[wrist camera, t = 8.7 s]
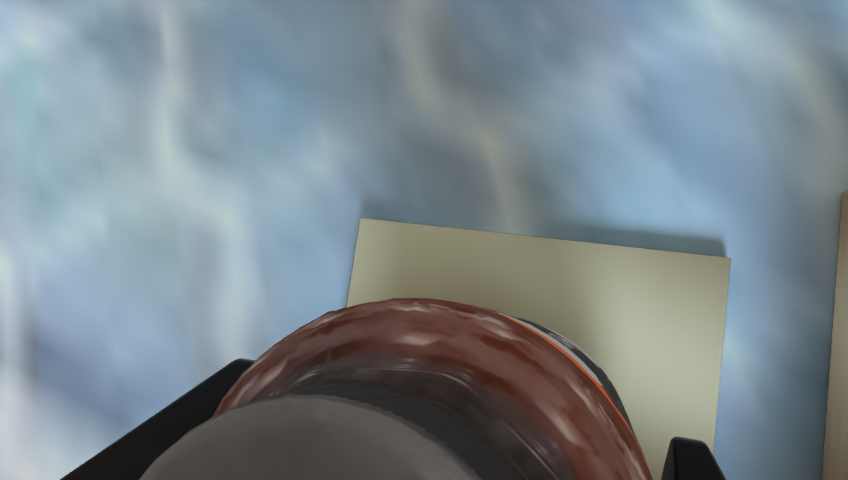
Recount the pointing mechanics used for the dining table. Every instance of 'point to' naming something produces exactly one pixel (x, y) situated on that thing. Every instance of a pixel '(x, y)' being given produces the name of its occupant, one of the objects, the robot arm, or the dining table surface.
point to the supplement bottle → (414, 404)
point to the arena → (602, 315)
